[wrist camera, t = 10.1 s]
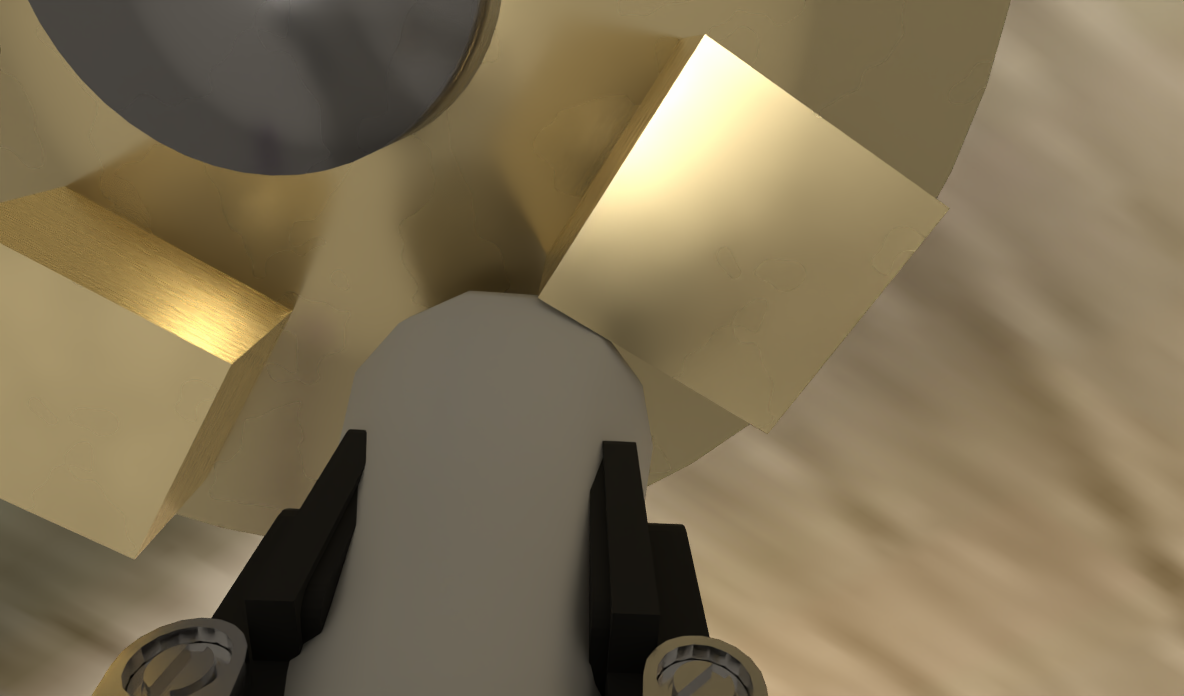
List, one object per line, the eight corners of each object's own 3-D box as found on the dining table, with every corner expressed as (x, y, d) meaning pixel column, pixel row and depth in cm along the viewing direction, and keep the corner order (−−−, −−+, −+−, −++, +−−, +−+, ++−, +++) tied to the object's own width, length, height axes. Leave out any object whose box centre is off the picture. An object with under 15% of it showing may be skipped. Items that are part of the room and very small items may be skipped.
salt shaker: (323, 358, 16) (-421, 1244, 4) (534, 204, 15) (367, 796, 3) (490, 541, 18) (314, 1533, 6) (690, 415, 17) (979, 1320, 5)
